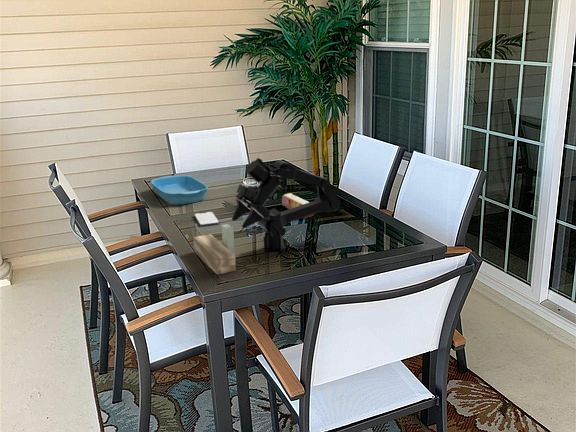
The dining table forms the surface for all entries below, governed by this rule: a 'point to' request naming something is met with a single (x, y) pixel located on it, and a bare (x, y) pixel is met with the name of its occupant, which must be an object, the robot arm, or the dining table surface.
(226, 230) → the sage green flanged block
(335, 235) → the dining table surface
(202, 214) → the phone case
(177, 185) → the casserole dish
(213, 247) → the beige u-shaped channel
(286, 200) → the snack package
